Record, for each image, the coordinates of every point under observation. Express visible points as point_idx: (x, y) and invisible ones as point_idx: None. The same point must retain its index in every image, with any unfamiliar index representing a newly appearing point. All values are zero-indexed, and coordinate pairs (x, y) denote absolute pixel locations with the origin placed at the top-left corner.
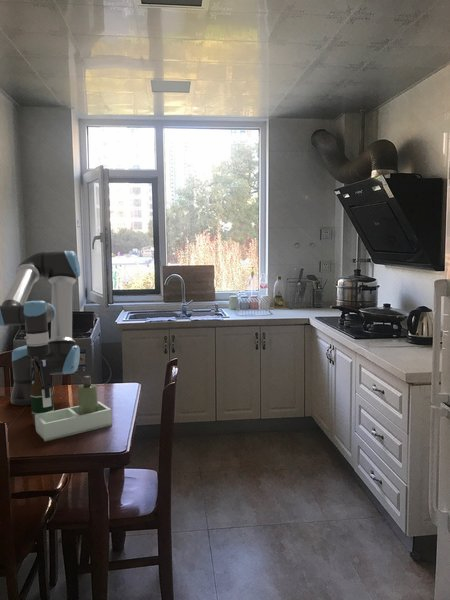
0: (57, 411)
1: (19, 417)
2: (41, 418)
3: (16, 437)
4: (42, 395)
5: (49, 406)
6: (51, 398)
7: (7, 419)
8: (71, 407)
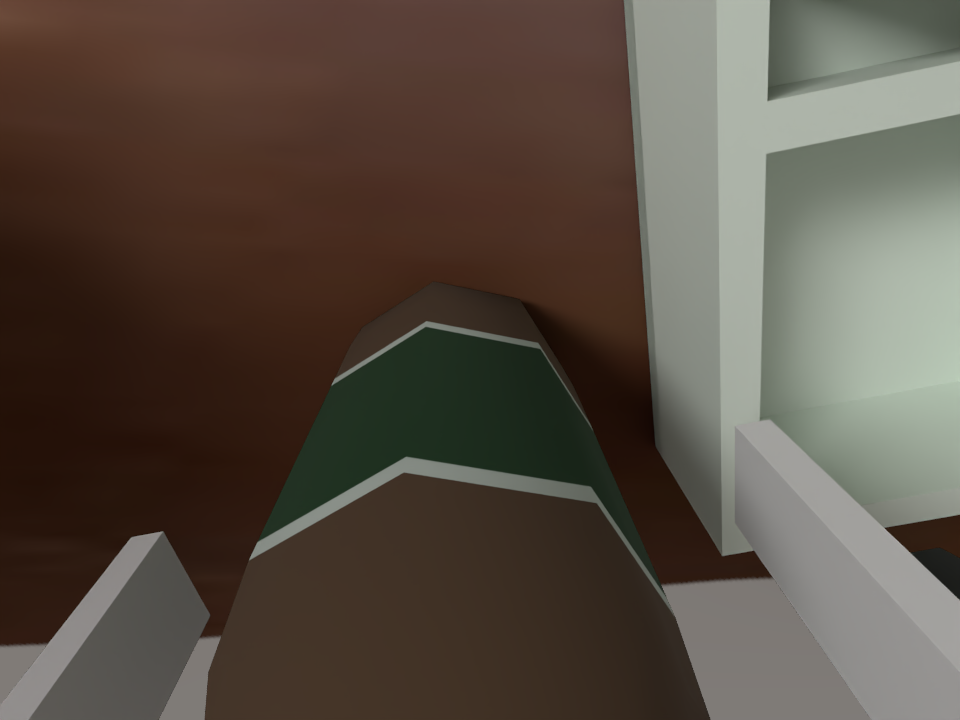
0: (758, 308)
1: (187, 556)
2: (917, 498)
3: (701, 564)
4: (871, 694)
5: (576, 416)
6: (578, 446)
7: (211, 627)
8: (734, 73)
